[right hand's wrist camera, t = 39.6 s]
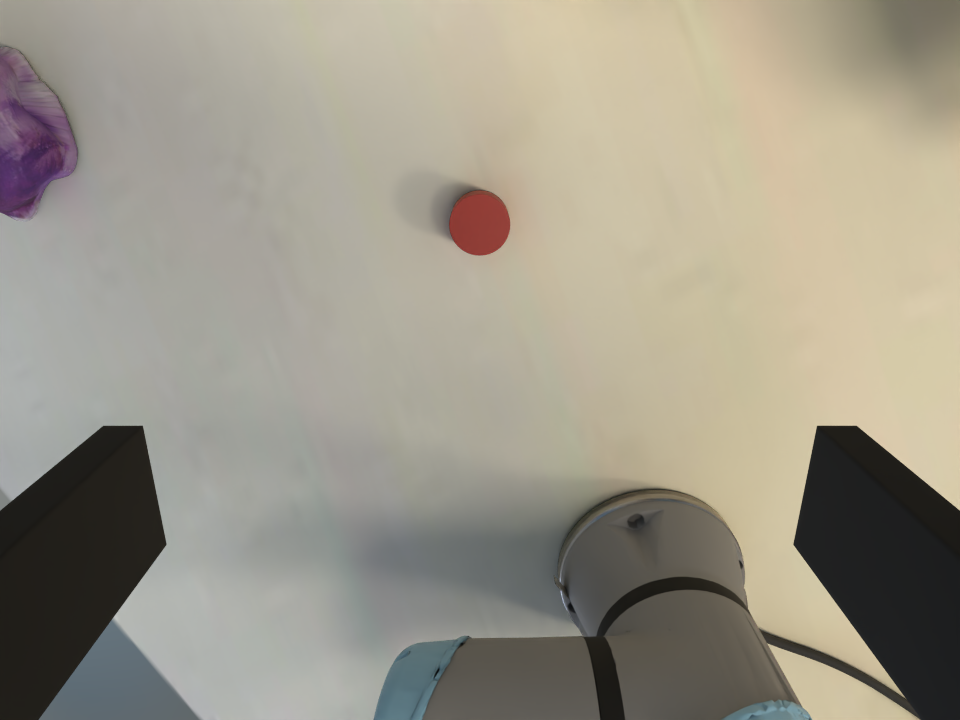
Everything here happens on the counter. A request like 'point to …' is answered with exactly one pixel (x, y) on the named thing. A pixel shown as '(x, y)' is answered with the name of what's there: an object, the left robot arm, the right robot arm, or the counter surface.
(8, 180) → the figurine
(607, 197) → the counter surface
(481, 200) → the cap
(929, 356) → the counter surface
